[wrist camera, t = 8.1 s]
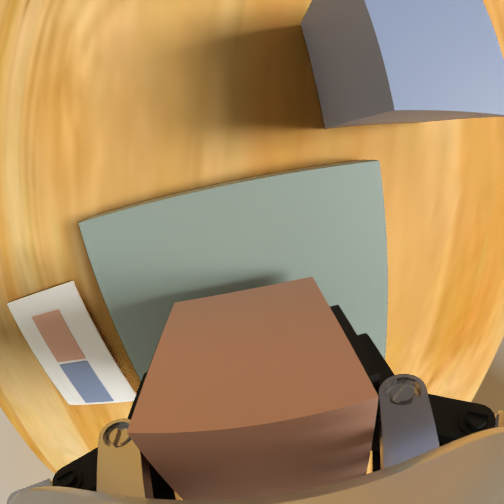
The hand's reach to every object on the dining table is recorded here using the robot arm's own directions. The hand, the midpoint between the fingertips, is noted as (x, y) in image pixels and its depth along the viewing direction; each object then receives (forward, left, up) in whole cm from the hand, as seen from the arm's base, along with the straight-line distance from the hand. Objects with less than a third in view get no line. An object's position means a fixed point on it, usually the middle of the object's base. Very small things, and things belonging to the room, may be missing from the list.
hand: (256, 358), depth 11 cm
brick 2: (-10, +7, -4) cm, 13 cm away
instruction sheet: (+1, -11, -3) cm, 12 cm away
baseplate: (0, 0, -3) cm, 3 cm away
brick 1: (0, 0, -1) cm, 1 cm away
